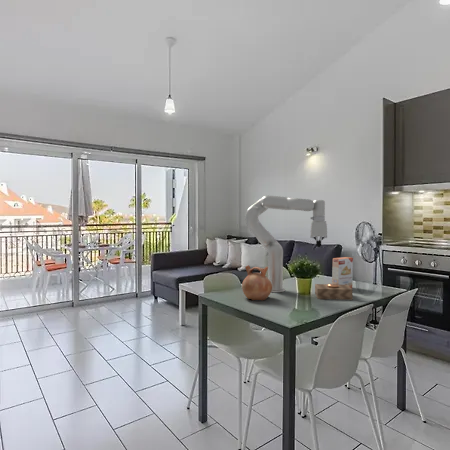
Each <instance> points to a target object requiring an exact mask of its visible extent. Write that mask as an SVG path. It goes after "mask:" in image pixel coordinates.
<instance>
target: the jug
mask: <svg viewBox="0 0 450 450" xmlns="http://www.w3.org/2000/svg"><path fill="white" fill-rule="evenodd" d="M244 268H245V270H246V273H247V276H246V277H245V278H244V279H243V281H242V283H241V289H242V292H243V294H244V295H245V297H246V298H248V299H247V300H249V299H252V300H251V301H254V300H261V301H265V300H267V299H268V297H269V296H270V295H271V293H272V292H271V291H272V283H271V281H270V280H269V279H268V276H267V275H266V274H267V273H268V266H265V267H262V268H261V267H259V266H254V267H252V268H251V267H250V265H248V264H247V265H246V266H245V267H244ZM254 270H257V271H259V272H253V271H254Z"/></svg>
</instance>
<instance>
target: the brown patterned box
mask: <svg viewBox="0 0 450 450" xmlns="http://www.w3.org/2000/svg"><path fill="white" fill-rule="evenodd" d="M327 284H328V283H326V284H325V283H322V284H321V283H315V284H314V294H315V297H316V298H317V300H346V301H348V300H350V301H351V300H353V288H350V287H349V286H348V285H339V287H338V288H329V287H327Z"/></svg>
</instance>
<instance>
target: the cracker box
mask: <svg viewBox="0 0 450 450" xmlns="http://www.w3.org/2000/svg"><path fill="white" fill-rule="evenodd" d="M353 267H354V258H353V257H349V256H343V257H333V258H332V267H331V268H332V270H331V271H332V273H331V276H332V277H331V279H332V280H331V284H338V285H348V286H349V287H350V288H351V289H353V274H354V273H353V272H354V271H353V269H354V268H353Z"/></svg>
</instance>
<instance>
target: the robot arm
mask: <svg viewBox="0 0 450 450" xmlns="http://www.w3.org/2000/svg"><path fill="white" fill-rule="evenodd" d="M325 205H326V202H325V200H323V199H314V200H311V199H309V198H308V199H306V198H297V197H291V196H290V197H289V196H281V195H270V194H269V195H267V194H266V195H264V196H262V197H261V198H260V199H259V200H257V201H256V202H255V203H254V204H252V205H251V206H249V207H248V208H247V210H246V212H245V216H244V217H245V218H244V221H245V225H246V227H247V228H248V230H250V233H252V235H253V236H254V237H255V238H256V239H257V242H258V243H260V244H261V246H263V248H264V249H265V250H266V252H268V253H267V254H268V256H267V265H268V270H267V273H268V274H267V278H268V279H269V280H270V281H271V283H272V291H271V293H275V294H276V293H284V292H285V291H286V288H285V287H284V285H283V284H284V283H283V282H284V281H283V280H284V279H283V278H284V274H283V271H284V268H283V267H284V264H283V262H284V261H283V260H284V249H283V246H282V245H281V244H280V243H279V242H278V241H277V239H276V238H275V237H274V236H273V235H272V234H271V232H270V231H269V230H268V229H267V228H265V226H264V225H263V224H262V223H261V222H260V220H259V217H260V216H261V215H262V214H263V213H265V212H266V211H267V210H269V209H270V210H281V211H283V210H284V211H302V212H311V211H312V216H311V217H310V220H312V221H311V224H310V238H311V239H314V240H315V241H316V243H315V246H316V247H317V248H321V246H322V241H323V240H324V239H327V238H328V226H327V225H328V224H327V221H326V219H325V218H326V206H325Z"/></svg>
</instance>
